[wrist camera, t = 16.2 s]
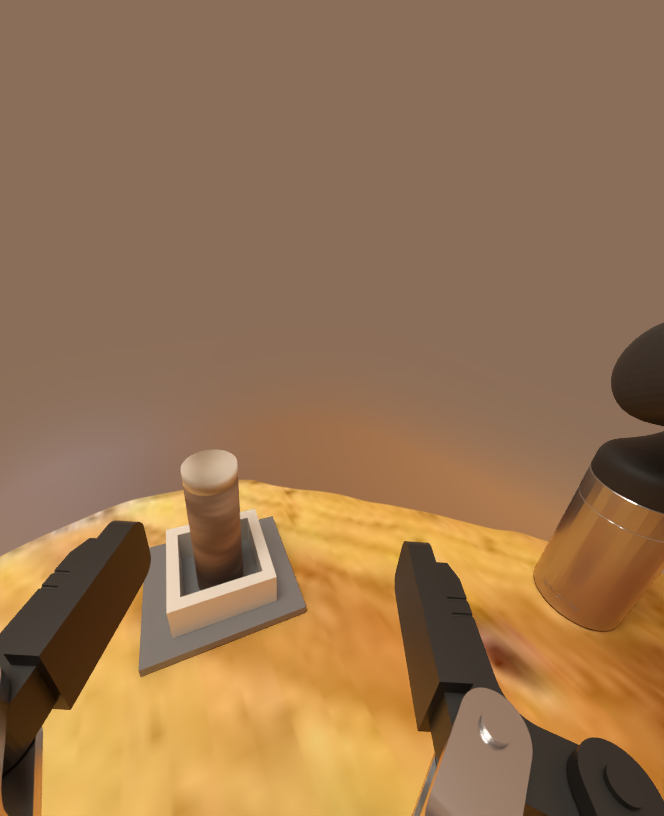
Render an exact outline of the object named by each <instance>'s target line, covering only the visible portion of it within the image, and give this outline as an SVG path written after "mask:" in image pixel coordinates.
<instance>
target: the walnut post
mask: <svg viewBox="0 0 664 816" xmlns="http://www.w3.org/2000/svg"><path fill="white" fill-rule="evenodd" d="M181 475H182V481H183V488H184V495H185V501H186V508H187V515H188V521H189V528H190V535H191V541H192V548H193V555H194V561H195V568H196V575H197V581H198V587H199V589H200V591H201V590H205V589H208V588H211V587H214V586H217V585H220V584H223V583H226V582H230V581H233V580H236V579H239V578H242V577H243V560H242V542H241V524H240V506H239V487H238V469H237V459H236V457H235V456H234V455H233V454H231V453H229V452H227V451H223V450H205V451H202V452H198V453H195V454H193V455H191V456H190V457H188V458H187V459H186V460H185V461H184V462H183V463H182V465H181Z"/></svg>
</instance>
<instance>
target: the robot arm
mask: <svg viewBox="0 0 664 816" xmlns="http://www.w3.org/2000/svg"><path fill="white" fill-rule="evenodd" d="M611 388H612V392H613V395H614V398H615V400H616V402H617V403H618V404H619V406H620V407H621V408H622V409H623V410H624V411H626V412H627V413H628V414H629V415H631V416H633V417H635V418H637V419H640V420H642V421H644V422H648V423H652V424H656V425H661V426H664V323H662V324H659V325H657V326H655V327H653V328H651V329H649V330H648V331H646V332H645V333H643V334H642V335H640V336H639V337H638V338H636V339H635V340H634V341H633V342H632V343H631V344H630V345H629V346H628V347H627V348H626V349H625V350H624V352H623V353H622V354H621V356H620V358H619V359H618V360H617V362H616V364H615V366H614V369H613V372H612V377H611ZM150 564H151V554H150V550H149V546H148V542H147V538H146V534H145V530H144V526H143V524H142V523H141V522H130V521H112V522H111V523H109V524H108V525H107V527H106V528H105V529H104V530H103V532H102V533H101V534H100V535H99V536H98V538H89V539H88V540H86V541H85V542H84V543H82V544H81V545H80V546H78V547H77V548H75V549H74V550H73V551H71V552H70V553H69V554H68V555H67V556H66V558H65V559H64V560H63V561H62V562H61V563H60V565H59V566H58V567H57V568H56V569H55V572H54V573H53V574H51V575H50V576H49V577H48V578H47V580H46V581H45V582H44V583H43V584H42V587H41V589H38V590H37V591H36V592H35V594H34V595H33V596H32V597H31V598H30V599H29V601H28V602H27V603H26V604H25V605H24V606H23V608H22V609H21V610H20V611H19V612H18V613H17V614H16V616H15V617H14V618H13V619H12V620H11V621H10V623H9V624H8V625H7V626H6V627H5V628H4V630H3V631H2V632H1V633H0V816H41V804H42V753H43V729H42V725H43V723H44V721H45V720H46V718H47V717H48V715H49V713H50V712H51V710H52V709H64V710H71V708H72V707H73V705H74V703H75V701H76V700H77V698H78V696H79V694H80V693H81V691H82V689H83V687H84V686H85V684H86V682H87V680H88V679H89V677H90V675H91V673H92V672H93V670H94V668H95V666H96V665H97V663H98V661H99V659H100V658H101V656H102V654H103V652H104V651H105V649H106V647H107V645H108V643H109V642H110V640H111V638H112V636H113V635H114V633H115V631H116V629H117V628H118V626H119V624H120V622H121V621H122V619H123V617H124V615H125V614H126V612H127V610H128V608H129V607H130V605H131V603H132V601H133V600H134V598H135V596H136V594H137V593H138V591H139V589H140V587H141V586H142V584H143V582H144V580H145V579H146V577H147V574H148V572H149V568H150ZM663 569H664V431H663V432H660V433H657V434H652V435H647V436H640V437H631V438H619V439H614V440H610V441H608V442H606V443H604V444H603V445H602V446H601V447H600V448H599V449H598V451H597V453H596V455H595V457H594V458H593V460H592V462H591V464H590V466H589V468H588V470H587V472H586V473H585V475H584V477H583V479H582V481H581V483H580V485H579V487H578V489H577V491H576V492H575V495H574V496H573V498H572V500H571V502H570V504H569V506H568V507H567V509H566V511H565V513H564V515H563V517H562V519H561V520H560V522H559V524H558V526H557V528H556V530H555V532H554V534H553V536H552V537H551V539H550V541H549V543H548V545H547V546H546V548H545V550H544V552H543V554H542V556H541V558H540V559H539V561H538V563H537V565H536V567H535V570H534V579H535V583H536V585H537V587H538V589H539V591H540V592H541V594H542V595H543V597H544V598H545V599H546V600H547V601H548V602H549V604H550V605H551V606H552V607H554V608H555V609H556V610H557V611H558V612H559V613H561V614H562V615H564V616H565V617H566V618H568V619H569V620H571V621H573V622H575V623H577V624H579V625H581V626H583V627H586V628H589V629H593V630H597V631H609V630H613V629H614V628H616V627H617V626H618V625H619V624H620V623H621V621H622V620H623V619H624V618H625V616H626V615H627V614H628V613H629V611H630V610H631V609H632V608H633V606H634V605H635V604H636V603H637V602H638V600H639V599H640V598H641V597H642V595H643V594H644V593H645V592H646V590H647V589H648V588H649V586H650V585H651V584H652V583H653V581H654V580H655V579H656V578H657V576H658V575H659V574H660V573H661V571H662V570H663ZM395 595H396V601H397V607H398V613H399V619H400V626H401V632H402V638H403V644H404V650H405V656H406V662H407V668H408V674H409V680H410V686H411V692H412V698H413V704H414V710H415V717H416V723H417V729H418V731H424V732H431V734H432V740H433V745H434V750H435V753H434V755H433V758H432V761H431V764H430V766H429V769H428V772H427V775H426V777H425V780H424V783H423V786H422V788H421V791H420V794H419V797H418V799H417V802H416V805H415V808H414V810H413V813H412V816H664V801H663V799H662V797H661V795H660V793H659V792H658V790H657V788H656V787H655V785H654V783H653V782H652V780H651V779H650V778H649V776H648V775H647V774H646V772H645V771H644V770H643V769H642V768H641V766H640V765H639V764H638V763H637V762H636V761H635V760H634V759H633V758H632V757H631V756H630V755H628V754H627V753H626V752H625V751H624V750H622V749H621V748H619V747H618V746H616V745H615V744H613V743H611V742H609V741H607V740H604V739H601V738H588V739H586V740H584V741H583V742H582V743H581V744H580V745H578V744H575V743H573V742H571V741H569V740H567V739H564V738H562V737H560V736H558V735H556V734H553V733H551V732H549V731H547V730H544V729H542V728H540V727H538V726H536V725H534V724H533V723H531V722H530V721H528V720H527V719H525V718H524V717H523V716H522V715H521V714H519V712H518V711H517V710H516V709H515V707H514V706H513V705H512V704H511V703H510V702H509V701H508V700H507V699H506V697H505V696H504V694H503V693H502V691H501V689H500V687H499V685H498V683H497V681H496V678H495V675H494V672H493V670H492V667H491V664H490V661H489V659H488V656H487V653H486V650H485V648H484V645H483V642H482V639H481V637H480V634H479V631H478V628H477V626H476V623H475V620H474V618H473V617H472V612H471V609H470V606H469V604H468V602H467V600H466V595H465V593H464V590H463V587H462V584H461V581H460V579H459V578H458V576H457V575H456V574H455V573H454V571H453V570H452V569H451V567H450V566H449V565H448V564H447V563H439V562H436V560H435V557H434V554H433V551H432V548H431V545H430V544H429V543H423V542H408V541H404V543H403V545H402V549H401V553H400V557H399V561H398V565H397V569H396V573H395Z"/></svg>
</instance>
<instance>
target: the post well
mask: <svg viewBox="0 0 664 816" xmlns="http://www.w3.org/2000/svg"><path fill="white" fill-rule="evenodd" d="M240 524H241V542H242V560H243V577H242V578H239V579H236V580H233V581H230V582H226V583H223V584H220V585H217V586H214V587H211V588H208V589H205V590H201V591H200V589H199V587H198V581H197V575H196V568H195V561H194V555H193V548H192V541H191V535H190V528H189V525H185V526H181V527H177V528H173V529H169V530H166V544H163V545H159V546H155V547H151V548H149V550H150V554H151V564H150V568H149V572H148V574H147V577H146V579H145V580H144V586H143V604H142V621H141V638H140V656H139V673H140V676H144V675H146V674H149V673H152V672H154V671H157V670H159V669H162V668H164V667H167V666H169V665H172V664H175V663H177V662H180V661H182V660H185V659H187V658H190V657H192V656H195V655H198V654H200V653H203V652H205V651H208V650H210V649H213V648H215V647H218V646H221V645H223V644H226V643H228V642H231V641H233V640H236V639H239V638H241V637H244V636H246V635H249V634H251V633H254V632H256V631H259V630H262V629H264V628H267V627H269V626H272V625H274V624H277V623H279V622H282V621H285V620H287V619H290V618H292V617H295V616H297V615H300V614H303V613H305V612H306V605H305V602H304V600H303V597H302V594H301V592H300V589H299V586H298V584H297V581H296V578H295V576H294V573H293V570H292V567H291V565H290V562H289V559H288V557H287V554H286V551H285V549H284V546H283V543H282V541H281V538H280V535H279V533H278V530H277V527H276V525H275V522H274V519H273V517H268V518H264V519H260V520H258V517H257V514H256V511H255V509H252V510H247V511H243V512H240Z"/></svg>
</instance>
